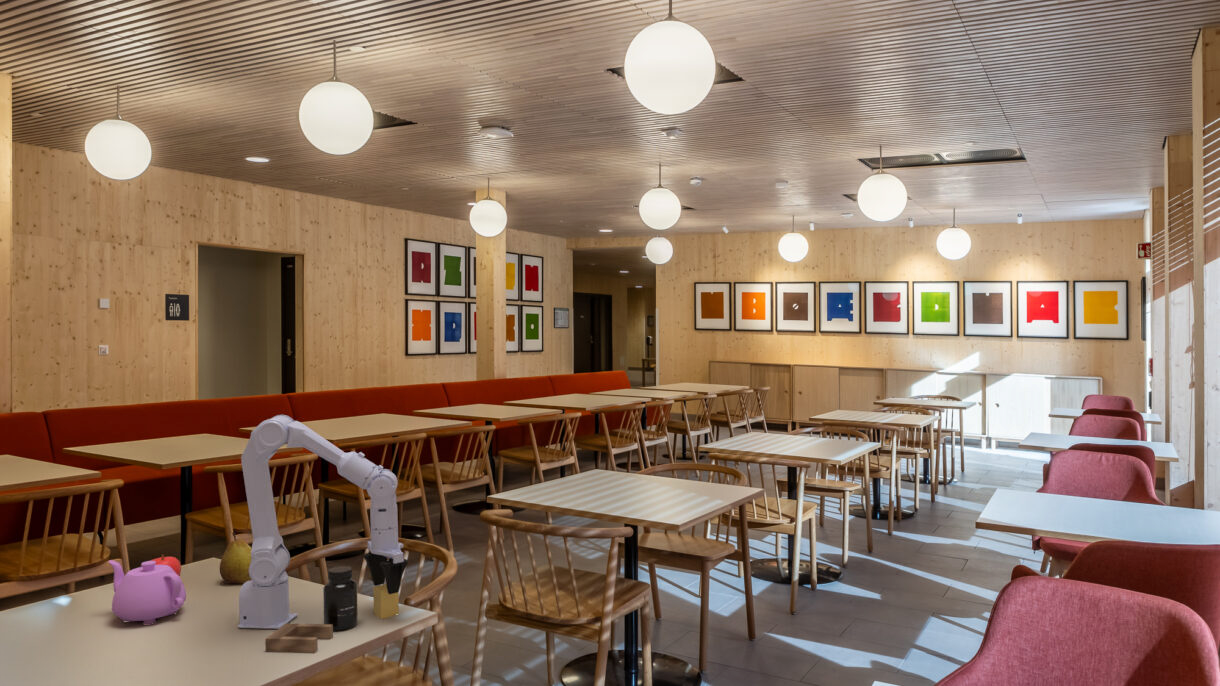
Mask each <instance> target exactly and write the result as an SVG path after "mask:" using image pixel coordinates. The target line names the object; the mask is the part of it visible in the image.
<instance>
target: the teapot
mask: <svg viewBox="0 0 1220 686" xmlns="http://www.w3.org/2000/svg"><path fill="white" fill-rule="evenodd" d="M108 563H109V564H110V565H111V567H112V569H113V583H112V584H113V591H114V595H113V598H112V602H111V610H112V613H113V614H114V615H116V617H118V618H119V619H120V620H122V621H131V622H139V621H141V622H142V621H143V625H144V624H150V625H153V624H155V623H156V622H157V621H156V619H159V618H162V617H166V616H173V615H172V614H174V615H176V614H175V613H177V614H178V610H179V609H180V608H182V607H183V606H184V604H185V601H186V600H187V592H186V588H185V585H184V583H183V581H182V579H181V576H180V577H179V576H178V575H177V574H176V573H175V571H174V570H173V569H172V568H171V567H170V566H167V565H155V564H156V561H151V560H147V561H146V560H145V561H143V562H141V564H140V566H139V567H136V568H133V569H130V570H129V571H127V572H126V573H124V570H123V566H122V565H121V564H120V562H118V561H115V560H112V559H110V560H108ZM152 623H153V624H152Z"/></svg>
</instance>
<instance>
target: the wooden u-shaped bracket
mask: <svg viewBox="0 0 1220 686" xmlns="http://www.w3.org/2000/svg"><path fill="white" fill-rule="evenodd" d="M333 638H334V631H333V625H331V624H324V623H287V624H285V625H283V626H282V627H281V628H279V629H276V630H275V631H274V632H272V633H271V634H269V635H268V636H267V637H266V638H265V639H264V640H265V642H264V643H265V645H264V646H265V652H277V653H278V652H279V653H280V652H282V653H283V652H284V653H309V654H310V653H311V654H312V653H313V654H314V653H316V652H317V651H318V650H319V648H318V645H319V644H318V640H331V639H333Z"/></svg>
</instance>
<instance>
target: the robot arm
mask: <svg viewBox="0 0 1220 686" xmlns="http://www.w3.org/2000/svg"><path fill="white" fill-rule="evenodd" d="M284 445H286V448H304V449H306V450H307V451H310V452H312V453H313V454H315V455H317V456H318V457H320V458H322V459H324V460H325V461H327V462H329V463H331V464H333V465H334V466H336V468H337V469H336V470H337V473H338V475H340V476H341V477H342V478H345V479H346V480H347V481H349V482H351V483H352V484H354V485H355V486H357V487H359V488H361V489H362V490H366V492H367V495H368V496H369V497H370V507H369V512H370V515H369V517H370V519H369V520H370V540H368V541H367V551H368V552H367V553H363V555H362V556H363V559H364V560H365V561H366V564H367V566H368V569H369V572H370V576H371V579H372V583H373V585H374V587H376V586H381V585H385V584H386V586H387V591H388V594H393V593H398V594H399V590H400V588H401V587H400V586H401V582H402V577H403V574H404V571H405V569H406V567H407V566H408V564H409V560H408V559H406V558H404V552H402V551H401V549H402V548H404V544H403V543H402V542H399V524H398V523H399V520H398V516H399V515H398V504H397V493H396V490H397V488H398V484H399V483H398V482H399V480H398V478H397V475H396V474H395V473H393V472H392V470H391V469H387V468H384V466H382V465H381V464H379V465H377V464H375V463H374V462H372V461H371V460H369V459H367V458H366V457H365V456H366V455H365V454H364V453H363V452H362V451H360V452H358V453H357V452H356V451H350V452H344V451H343V450H342V449H340V448H339V447H337V446H336V445H335V444H334V443H332V442H330V441H328V439H326V438H324V437H323V436H321V435H320V434H319V433H317V432H315V431H314V430H312V428H310V427H308V426H307V425H305V424H303V422H300V421H298V420H294V419H293V418H292V417H290V416H289V415H285V414H278V415H275V416H273V417H271V418H267V419H266V420H263V421H262V422H260V423H259V424H258V425H257V426H256V427H255V428H254V429H253V430H252V431H251V432H250V437H249V440H248V441H247V443H246V445H245V447H244V450H243V452H242V453H241V457H240V461H241V467H242V472H243V473H242V475H243V480H244V487H245V494H246V500H247V506H248V513H249V521H250V526H251V534H252V545H251V548H252V549H251V558H252V559H251V564H250V566H249V575H250V578H251V579H252V580H251V581H247V582H245V583H243V584H242V585H241V587H240V590H239V595H238V611H239V612H238V613H239V623H238V624H237V628H238V629H266V630H267V629H268V630H269V629H272V630H273V629H274V630H275V629H276V630H278V629H279V628H281V627H282V626H283V625H285V624H289V622H292V620H293V619H295V618H296V617H298V613H295V612H292V613H291V612H290V595H289V594H290V593H289V591H290V588H289V585H290V584H289V575H288V574H287V572H286V569H287V567H288V566H289V565H290V562H291V556H290V555H291V554H290V552H289V550H288V549H287V548H286V546H285V545H284V539H283V537H282V535H281V533H280V532H279V526H278V519H277V513H276V507H275V506H276V505H275V501H274V500H275V499H274V493H273V492H274V491H273V486H272V481H271V473H270V467H269V461H270V460H271V458H272V457H273V456H274V455H275V454H276V452H277V451H278V450H279V449H280V448H281V447H283V446H284Z"/></svg>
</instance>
